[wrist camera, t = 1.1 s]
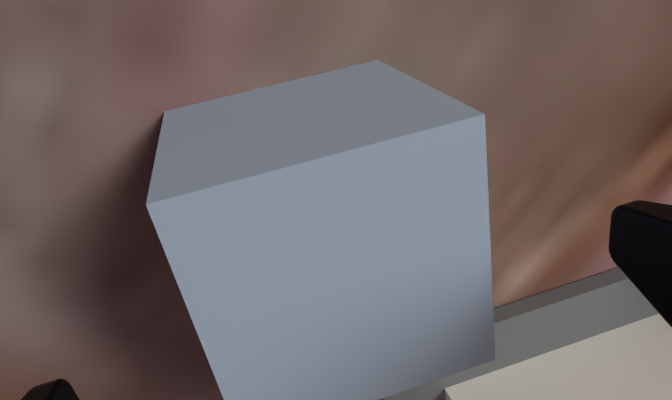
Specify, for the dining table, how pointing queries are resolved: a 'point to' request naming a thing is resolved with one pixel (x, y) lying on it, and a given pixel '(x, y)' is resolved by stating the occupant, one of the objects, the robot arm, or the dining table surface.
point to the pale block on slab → (569, 348)
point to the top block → (329, 234)
